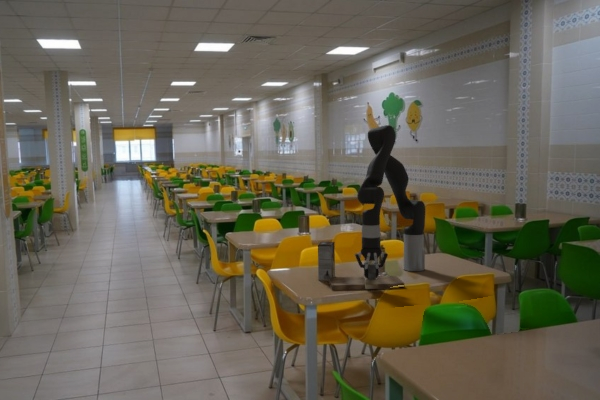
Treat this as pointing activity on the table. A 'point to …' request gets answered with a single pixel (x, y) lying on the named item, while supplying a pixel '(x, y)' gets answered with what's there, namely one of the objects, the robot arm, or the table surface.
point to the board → (362, 282)
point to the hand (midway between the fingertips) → (371, 277)
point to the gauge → (371, 278)
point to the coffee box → (326, 260)
